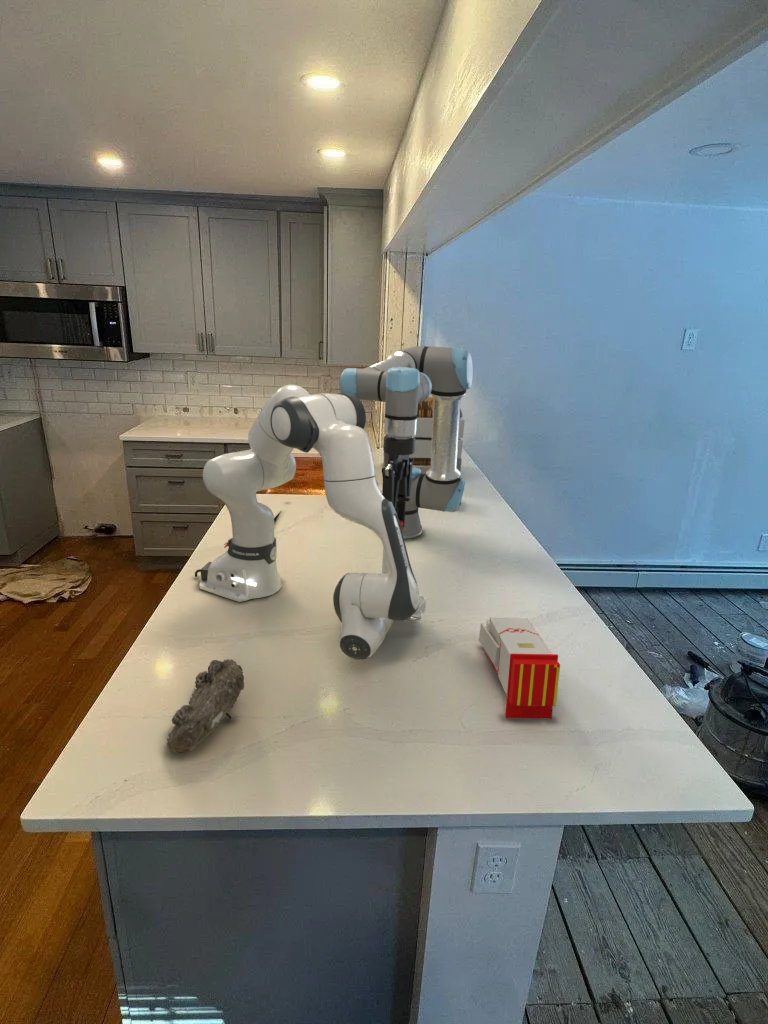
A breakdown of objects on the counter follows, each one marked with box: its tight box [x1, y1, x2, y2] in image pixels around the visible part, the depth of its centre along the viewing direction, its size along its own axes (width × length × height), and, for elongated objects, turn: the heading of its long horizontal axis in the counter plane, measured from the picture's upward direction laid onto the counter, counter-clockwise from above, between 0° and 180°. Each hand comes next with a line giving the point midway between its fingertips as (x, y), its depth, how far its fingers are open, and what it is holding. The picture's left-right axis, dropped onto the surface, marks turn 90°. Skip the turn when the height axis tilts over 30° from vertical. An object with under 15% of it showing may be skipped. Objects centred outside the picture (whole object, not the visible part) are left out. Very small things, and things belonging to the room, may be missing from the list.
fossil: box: [166, 658, 245, 754], centre depth 106 cm, size 22×10×15 cm
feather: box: [274, 510, 282, 524], centre depth 212 cm, size 2×28×2 cm
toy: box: [478, 616, 561, 720], centre depth 122 cm, size 12×13×30 cm
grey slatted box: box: [383, 396, 465, 475], centre depth 268 cm, size 34×33×41 cm
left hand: (392, 587), depth 147 cm, fingers closed on bottle, 5 cm apart
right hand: (395, 528), depth 140 cm, fingers closed on cap, 4 cm apart
